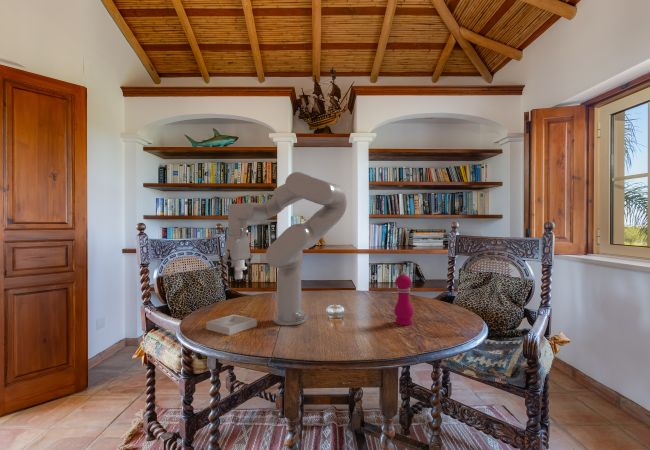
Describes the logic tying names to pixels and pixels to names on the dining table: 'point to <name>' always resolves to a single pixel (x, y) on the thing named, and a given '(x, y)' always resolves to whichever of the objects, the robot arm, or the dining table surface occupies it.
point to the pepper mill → (403, 300)
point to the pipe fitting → (239, 268)
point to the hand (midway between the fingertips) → (238, 275)
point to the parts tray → (231, 324)
